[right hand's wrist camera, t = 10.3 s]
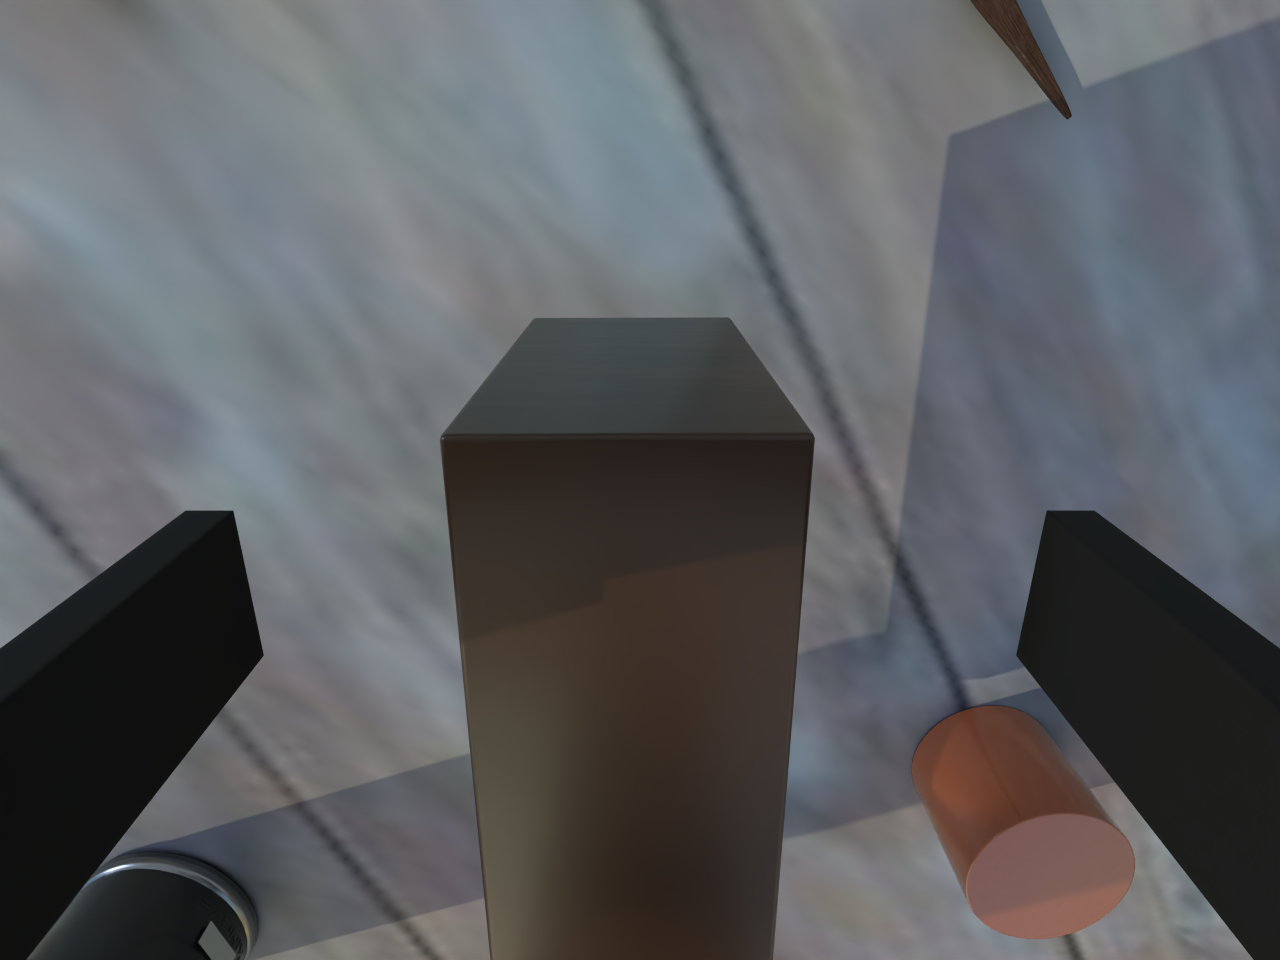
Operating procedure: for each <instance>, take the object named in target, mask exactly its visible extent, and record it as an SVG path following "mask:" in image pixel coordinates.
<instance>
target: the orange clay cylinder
mask: <svg viewBox="0 0 1280 960" xmlns="http://www.w3.org/2000/svg"><path fill="white" fill-rule="evenodd" d="M912 780H913V783H914V786H915V789H916V791H917V793H918V795H919V797H920V800H921V802H922V804H923V806H924V808H925V810H926V813H927V815H928V817H929V819H930V821H931V824H932V826H933V828H934V830H935V832H936V834H937V837H938V839H939V841H940V843H941V845H942V847H943V850H944V852H945V854H946V856H947V858H948V860H949V863H950V865H951V867H952V869H953V871H954V873H955V876H956V878H957V880H958V882H959V884H960V886H961V889H962V891H963V893H964V895H965V897H966V899H967V902H968V904H969V906H970V908H971V909H972V911H973V912H974V914H975V915H976V916H977V917H978V918H979V919H980V920H981V921H982V922H983V923H984V924H986V925H987V926H989V927H990V928H992V929H994V930H996V931H998V932H1000V933H1003V934H1006V935H1008V936H1013V937H1017V938H1025V939H1045V938H1053V937H1059V936H1063V935H1067V934H1070V933H1073V932H1076V931H1079V930H1081V929H1083V928H1085V927H1088V926H1090V925H1092V924H1093V923H1095V922H1097V921H1098V920H1100V919H1101V918H1103V917H1104V916H1105V915H1107V914H1108V913H1109V912H1110V911H1111V910H1112V909H1114V908H1115V907H1116V906H1117V904H1118V903H1119V902H1120V901H1121V900H1122V899H1123V897H1124V896H1125V894H1126V893H1127V891H1128V889H1129V887H1130V885H1131V882H1132V879H1133V876H1134V870H1135V858H1134V854H1133V850H1132V847H1131V845H1130V843H1129V841H1128V840H1127V838H1126V837H1125V835H1124V834H1123V833H1122V831H1121V830H1120V829H1119V827H1118V826H1117V825H1116V823H1115V822H1114V821H1113V819H1112V818H1111V817H1110V815H1109V814H1108V813H1107V811H1106V810H1105V809H1104V807H1103V806H1102V805H1101V803H1100V802H1099V801H1098V799H1097V798H1096V797H1095V795H1094V794H1093V793H1092V791H1091V790H1090V789H1089V787H1088V786H1087V785H1086V783H1085V782H1084V781H1083V779H1082V778H1081V777H1080V775H1079V774H1078V773H1077V771H1076V770H1075V769H1074V767H1073V766H1072V765H1071V763H1070V762H1069V761H1068V759H1067V758H1066V757H1065V755H1064V754H1063V753H1062V751H1061V750H1060V749H1059V747H1058V746H1057V745H1056V743H1055V742H1054V741H1053V739H1052V738H1051V737H1050V735H1049V734H1048V733H1047V731H1046V730H1045V729H1044V727H1043V726H1042V725H1041V724H1040V723H1039V722H1038V721H1037V720H1035V719H1034V718H1033V717H1031V716H1030V715H1028V714H1026V713H1024V712H1022V711H1019V710H1017V709H1013V708H1009V707H1004V706H980V707H975V708H970V709H967V710H963V711H960V712H958V713H956V714H953V715H951V716H950V717H948V718H946V719H944V720H943V721H941V722H940V723H938V724H937V725H936V726H935V727H934V728H932V729H931V730H930V731H929V732H928V733H927V734H926V736H925V737H924V738H923V739H922V741H921V742H920V744H919V746H918V748H917V750H916V752H915V755H914V757H913V762H912Z"/></svg>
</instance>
